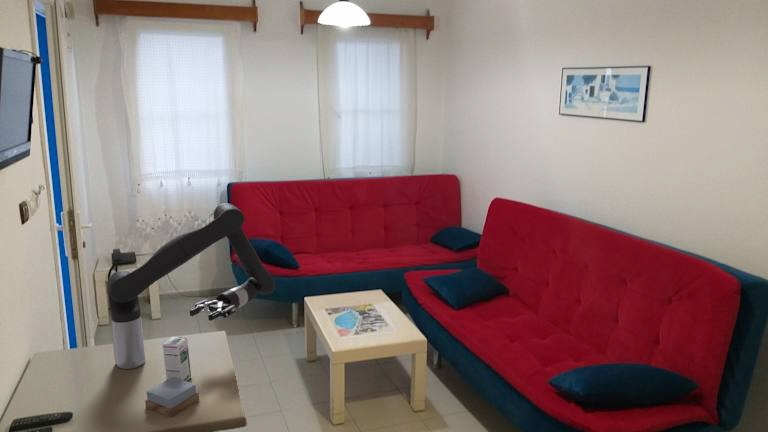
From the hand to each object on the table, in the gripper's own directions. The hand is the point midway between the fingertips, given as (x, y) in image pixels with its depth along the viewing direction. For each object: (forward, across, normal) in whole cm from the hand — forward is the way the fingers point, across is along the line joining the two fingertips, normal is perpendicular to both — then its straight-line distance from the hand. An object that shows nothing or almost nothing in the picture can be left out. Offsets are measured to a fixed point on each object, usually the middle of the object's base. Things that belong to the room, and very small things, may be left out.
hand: (199, 315), depth 201 cm
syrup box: (+11, 0, +19) cm, 22 cm away
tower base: (+22, +9, +19) cm, 31 cm away
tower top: (+22, +9, +16) cm, 29 cm away
